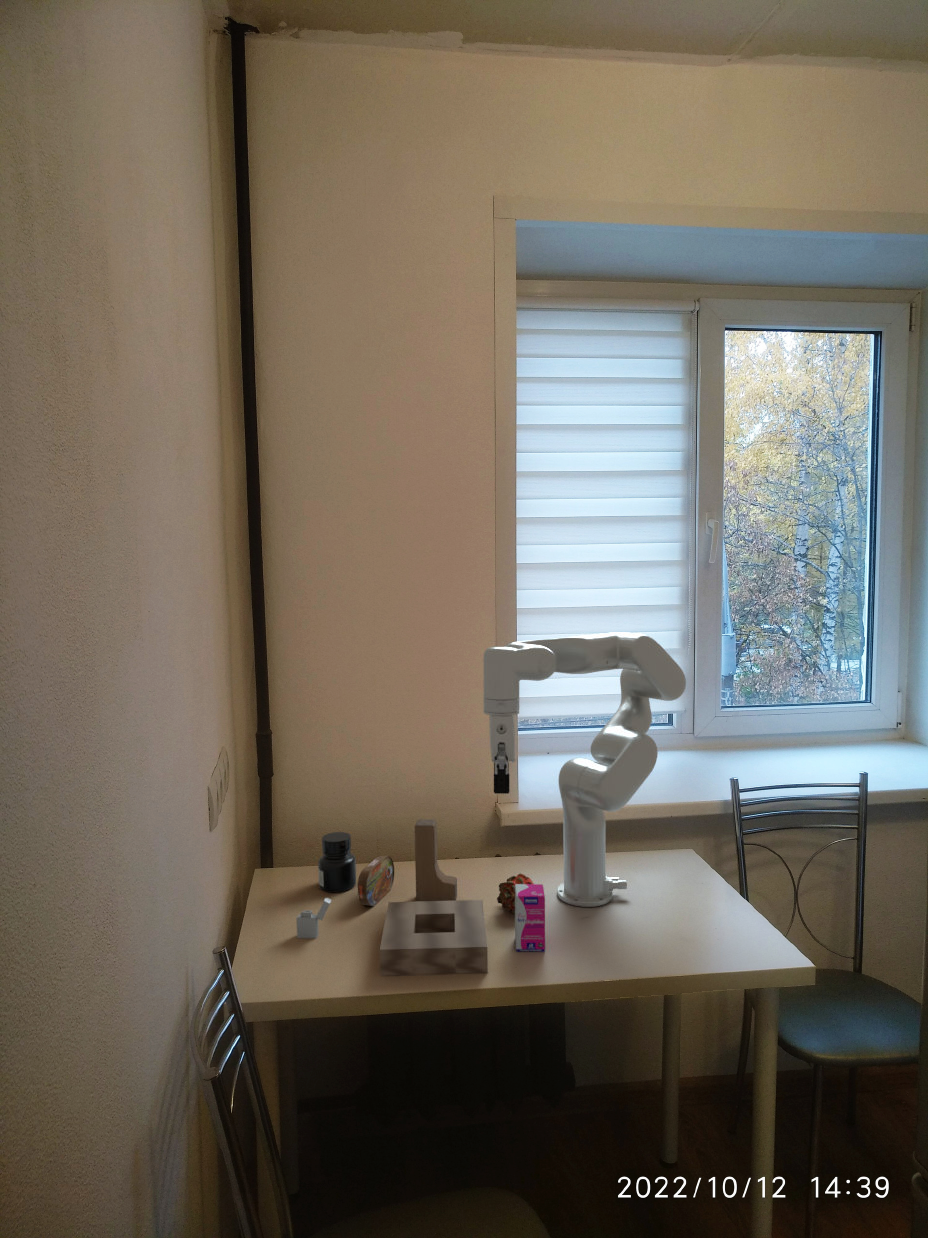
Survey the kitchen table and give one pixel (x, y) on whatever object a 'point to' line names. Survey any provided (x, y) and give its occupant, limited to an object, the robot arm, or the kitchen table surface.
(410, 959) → the socket block
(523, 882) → the dragon fruit
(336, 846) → the ink bottle
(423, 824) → the wooden block
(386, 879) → the tin
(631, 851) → the kitchen table surface
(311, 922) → the lighter
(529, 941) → the supplement box
